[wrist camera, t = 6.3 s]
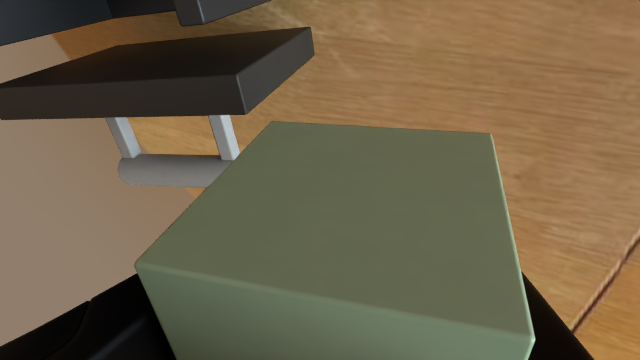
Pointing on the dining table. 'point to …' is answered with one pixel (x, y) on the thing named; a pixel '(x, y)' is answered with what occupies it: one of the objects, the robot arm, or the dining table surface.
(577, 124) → the dining table surface
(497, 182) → the block
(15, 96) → the drawer
